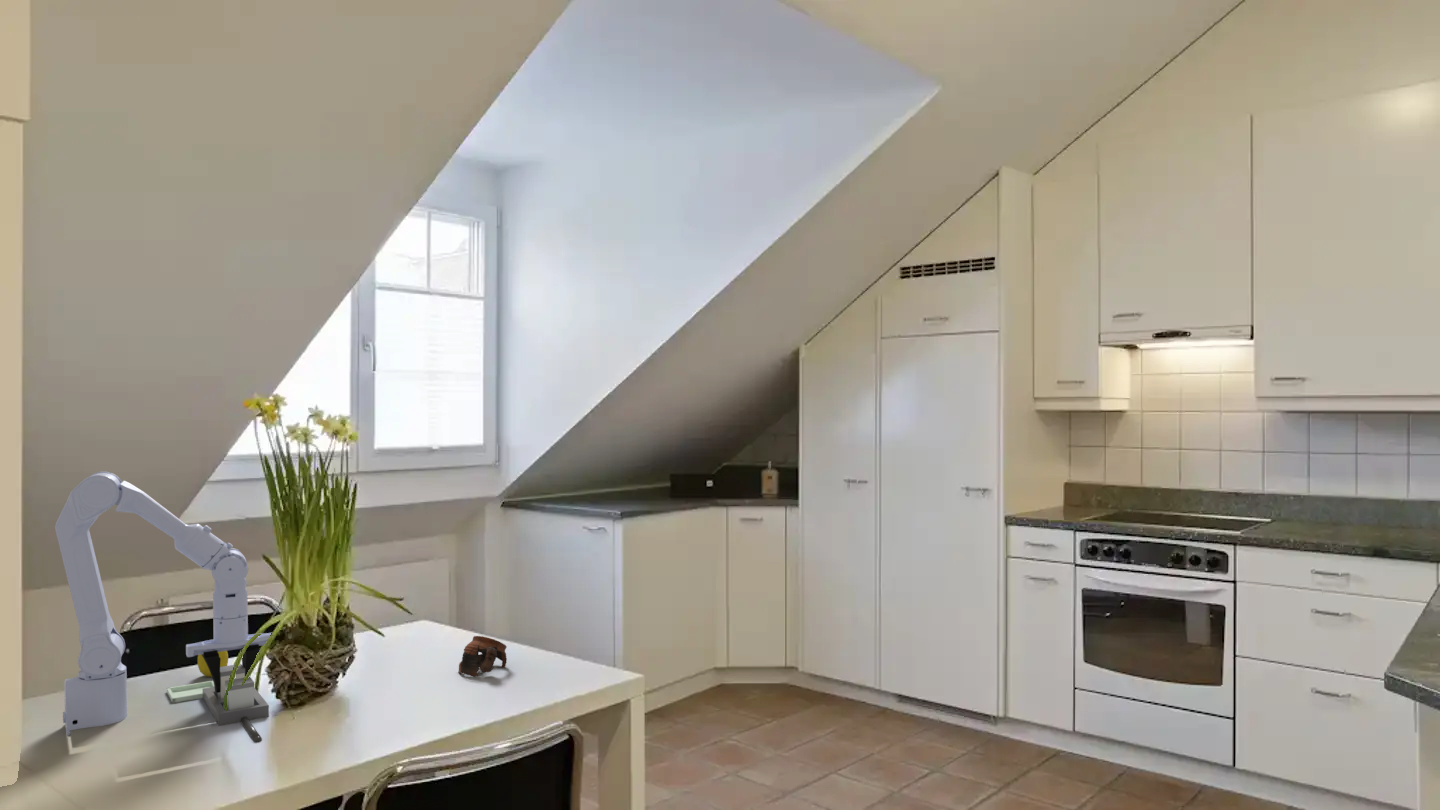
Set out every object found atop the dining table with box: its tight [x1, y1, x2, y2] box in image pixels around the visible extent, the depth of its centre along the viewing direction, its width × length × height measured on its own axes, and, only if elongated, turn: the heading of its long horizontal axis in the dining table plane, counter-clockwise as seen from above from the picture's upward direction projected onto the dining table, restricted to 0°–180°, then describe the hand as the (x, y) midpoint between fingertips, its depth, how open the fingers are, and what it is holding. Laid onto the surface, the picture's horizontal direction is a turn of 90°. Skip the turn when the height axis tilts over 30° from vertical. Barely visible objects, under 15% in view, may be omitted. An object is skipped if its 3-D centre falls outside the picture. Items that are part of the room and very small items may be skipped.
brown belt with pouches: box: [457, 635, 508, 677], centre depth 202 cm, size 12×10×8 cm
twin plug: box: [225, 676, 255, 710], centre depth 174 cm, size 4×4×6 cm
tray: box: [166, 680, 214, 704], centre depth 186 cm, size 8×8×2 cm
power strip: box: [202, 687, 270, 743], centre depth 173 cm, size 8×31×3 cm, turn 36°
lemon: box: [197, 651, 229, 678], centre depth 198 cm, size 6×6×8 cm
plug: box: [217, 663, 245, 699], centre depth 181 cm, size 4×4×6 cm
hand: (231, 688), depth 180 cm, fingers closed on plug, 4 cm apart
